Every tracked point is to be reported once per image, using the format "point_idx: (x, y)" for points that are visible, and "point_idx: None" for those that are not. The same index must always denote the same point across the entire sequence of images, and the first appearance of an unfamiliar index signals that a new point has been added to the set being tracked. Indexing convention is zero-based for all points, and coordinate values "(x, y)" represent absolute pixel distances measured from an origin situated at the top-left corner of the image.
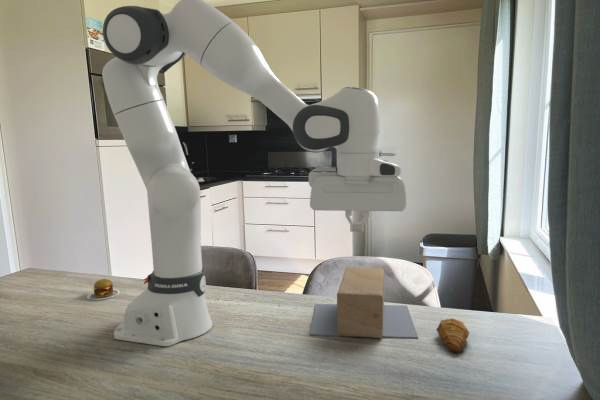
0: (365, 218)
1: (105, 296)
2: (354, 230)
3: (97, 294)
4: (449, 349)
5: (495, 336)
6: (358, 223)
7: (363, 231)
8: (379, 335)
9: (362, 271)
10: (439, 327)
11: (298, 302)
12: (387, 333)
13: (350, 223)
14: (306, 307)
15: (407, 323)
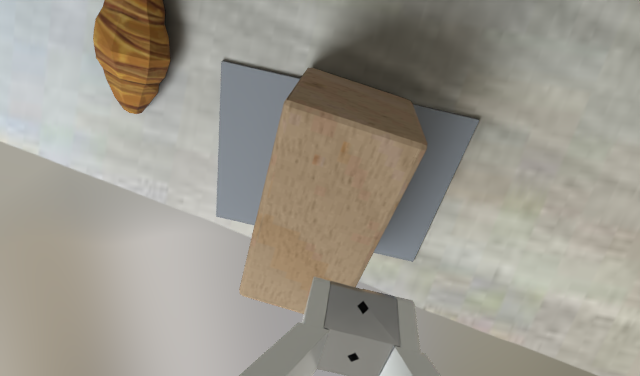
0: (280, 364)
1: None
2: (383, 294)
3: None
4: None
5: (48, 42)
6: (345, 345)
7: (315, 277)
8: (313, 69)
9: (300, 287)
10: (159, 52)
11: (447, 278)
12: (289, 92)
13: (419, 353)
14: (437, 253)
15: (232, 133)
